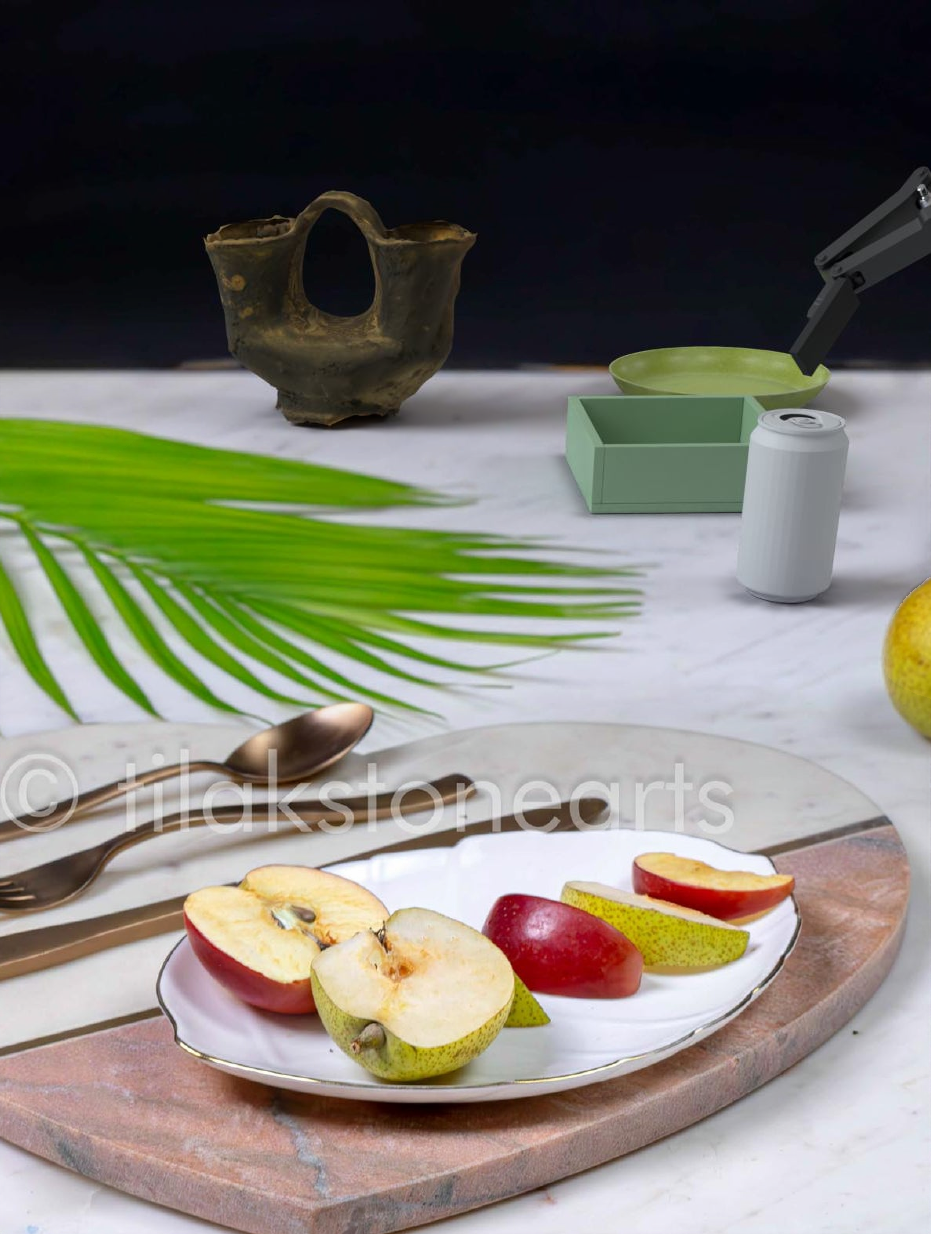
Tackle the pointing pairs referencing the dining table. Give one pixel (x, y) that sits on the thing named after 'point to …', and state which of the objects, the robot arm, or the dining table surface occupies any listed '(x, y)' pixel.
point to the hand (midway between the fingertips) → (879, 383)
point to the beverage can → (792, 504)
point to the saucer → (719, 375)
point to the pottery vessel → (331, 345)
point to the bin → (661, 451)
